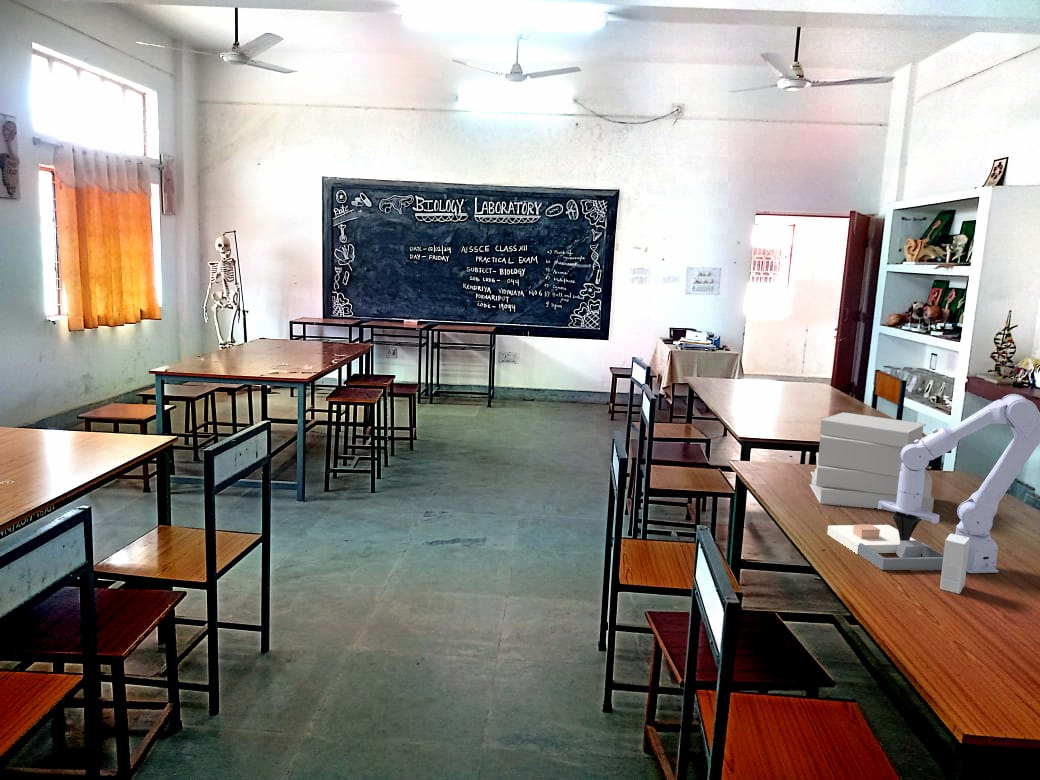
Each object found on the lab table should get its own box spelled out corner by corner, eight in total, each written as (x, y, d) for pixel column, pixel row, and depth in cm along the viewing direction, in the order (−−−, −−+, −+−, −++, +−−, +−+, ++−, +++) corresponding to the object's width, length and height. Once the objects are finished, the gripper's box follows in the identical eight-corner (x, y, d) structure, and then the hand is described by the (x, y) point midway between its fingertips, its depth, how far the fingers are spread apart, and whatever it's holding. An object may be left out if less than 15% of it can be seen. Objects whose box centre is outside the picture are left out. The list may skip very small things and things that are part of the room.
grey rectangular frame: (949, 569, 184) (950, 558, 184) (882, 571, 182) (883, 559, 182) (921, 553, 195) (922, 542, 194) (857, 554, 193) (859, 543, 192)
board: (922, 553, 195) (923, 544, 195) (857, 554, 193) (858, 545, 193) (887, 533, 210) (888, 524, 209) (827, 534, 208) (828, 525, 207)
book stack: (941, 518, 224) (951, 435, 220) (817, 507, 232) (825, 426, 228) (912, 491, 253) (920, 416, 249) (803, 482, 261) (810, 409, 257)
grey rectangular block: (913, 552, 193) (919, 558, 191) (895, 553, 193) (901, 559, 190) (918, 540, 192) (924, 546, 189) (900, 540, 191) (906, 546, 189)
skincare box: (944, 581, 177) (950, 532, 175) (964, 586, 175) (970, 537, 173) (938, 589, 173) (944, 539, 171) (959, 594, 170) (966, 544, 168)
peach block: (878, 538, 198) (879, 529, 198) (861, 538, 197) (862, 529, 197) (870, 533, 202) (871, 524, 201) (852, 533, 201) (853, 524, 201)
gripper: (947, 495, 187) (940, 547, 190) (889, 482, 199) (884, 531, 201) (934, 500, 183) (928, 553, 185) (876, 486, 194) (870, 536, 197)
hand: (904, 542), depth 193 cm, fingers closed
